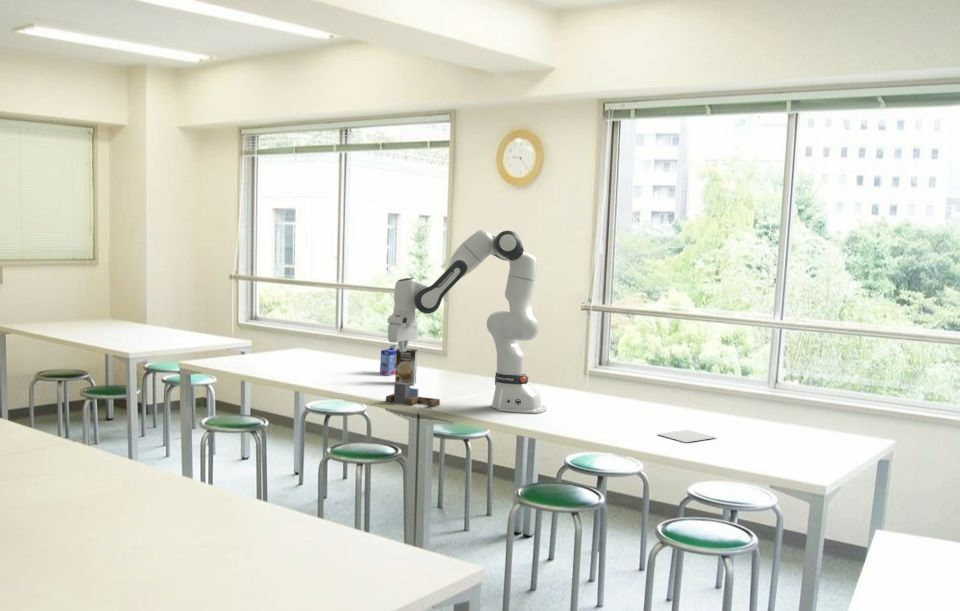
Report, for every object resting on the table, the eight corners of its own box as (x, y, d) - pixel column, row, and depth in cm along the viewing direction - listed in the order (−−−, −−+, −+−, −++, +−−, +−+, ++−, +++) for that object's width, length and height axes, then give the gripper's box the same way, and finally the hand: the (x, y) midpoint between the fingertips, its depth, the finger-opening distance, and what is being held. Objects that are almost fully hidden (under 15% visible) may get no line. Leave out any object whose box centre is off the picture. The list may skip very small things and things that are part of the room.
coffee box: (394, 384, 396) (395, 349, 395) (397, 382, 402) (398, 348, 401) (414, 385, 395) (415, 350, 394) (416, 383, 401) (417, 349, 400)
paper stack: (738, 445, 304) (738, 443, 304) (690, 453, 289) (691, 450, 289) (687, 431, 323) (687, 429, 323) (640, 438, 308) (640, 436, 308)
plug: (409, 402, 355) (410, 383, 354) (404, 404, 351) (405, 384, 350) (398, 401, 357) (399, 382, 356) (393, 402, 353) (394, 383, 352)
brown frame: (443, 403, 355) (443, 391, 354) (432, 408, 345) (432, 395, 345) (397, 398, 362) (398, 386, 362) (385, 402, 353) (386, 390, 352)
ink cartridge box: (388, 376, 418) (389, 346, 417) (379, 374, 421) (380, 345, 420) (399, 373, 427) (400, 344, 426) (390, 372, 430) (391, 343, 429)
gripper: (408, 315, 362) (407, 348, 363) (385, 318, 343) (384, 353, 344) (422, 316, 359) (421, 349, 360) (399, 320, 340) (398, 354, 341)
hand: (402, 351), depth 352 cm, fingers closed
